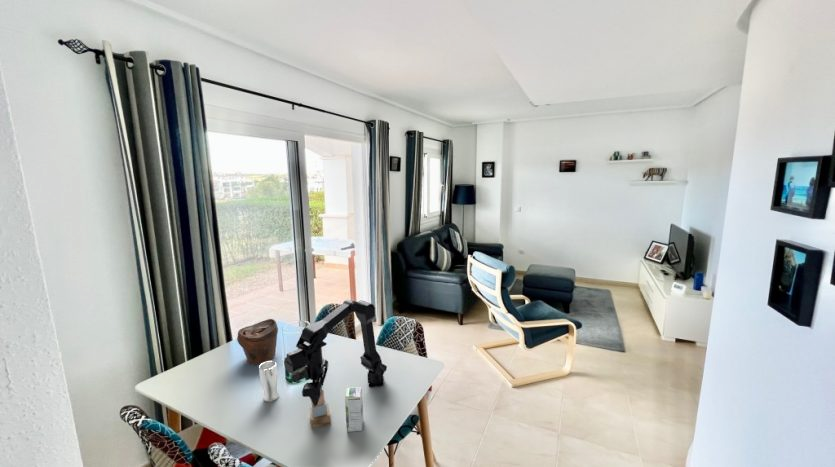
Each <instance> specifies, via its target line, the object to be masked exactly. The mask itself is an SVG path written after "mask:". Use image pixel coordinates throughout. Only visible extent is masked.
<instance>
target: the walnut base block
mask: <svg viewBox="0 0 835 467" xmlns="http://www.w3.org/2000/svg"><path fill="white" fill-rule="evenodd" d="M326 408H327V414H326V415H322V416H318V417H314V418H313V412H312V406H311V407H309V414H310V425H311V430H312V429H313V430H314V429H317V428H320V427H325V426H327V425H331V423H332V421H331V413H330V405H329V403H327V402H326Z"/></svg>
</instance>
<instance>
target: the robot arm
mask: <svg viewBox="0 0 835 467" xmlns="http://www.w3.org/2000/svg"><path fill="white" fill-rule="evenodd" d="M352 313H354V314H355V316H356V318H357V319H358V322H359V323H360V328H361V336H362V341H363V350H364V353H363V354H362V355H361V356H359V358H360V361H361V362H360V365H362V366H363V367H364V368H365V370H368V371H367V375H366V376H367V384H368V387H369V388H373V387H383V386H385V382H384V380H385V379H384V378H385V376H384V374H385V372H386V371H387V370H388V369H387V368H388V366H387V365H386V364H384V363H383V361H382V358H381V355H380V353H379V352H378V351H377V346H376V340H375V332H374V330H375V329H374V324H373V320H374V319H375V316H376V307H375V305H374V304H373V303H370V302H368V301H365V300H358V301H354V300H350V299H346V300H344V301H343V303H342V304H340V305H339V306H338V307H336V308H335V309H334V310H332V311H331V312H330V313H329V314H327V315H326V316H324V318H322V319H321V320H318V321H315V322H312V323H311V324H308V325H307V326H305V327H304V328H303V329H302V330H301V334H300V336H299V339H298V341H297V343H296V345H295V347H296V348H297V349H296V350H293V351H291V352H288V353H286V357H285V358H284V361H283V362H284V363H283V364H284V367H285V369H286V371H287V373H289V374H290V381H291V382H293V383H297V382H301V380H304V379H305V380H306V381H308V380H311V382H306V383H305V384H304V385H303V387H302V390H301V394H302V397H303V398H307V397H309V399H310V402H311V401H312V403H313V405H314V406H317V404H318V401H319V398H320V395H321V392H322V390H323V386H324V382H325V380H326V376H327V373H328V369H329V361H328V360H327V359H325V357H323V347H326V346H327V344H328V343H327V342H325V341H324V340H326V338H327V336H328V335H329V332H330V331H331V330H332V329H333V328H335V327H336V326H337V325H338V324H339V323H340V322H342V321H343V320H344V319H345V318H347V317H348V316H349V315H350V314H352ZM306 343H307V344H308V345H307V344H306Z"/></svg>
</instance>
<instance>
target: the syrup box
mask: <svg viewBox="0 0 835 467" xmlns="http://www.w3.org/2000/svg"><path fill="white" fill-rule="evenodd" d="M363 400H364V399H363V387H361V386H359V387H358V386H357V387H356V386H353V387H347V388H346V392H345V398H344V404H345V407H344V408H345V423H346V432H347V433H349V432H352V433H353V432H358V431H359V432H360V431H361V432H362V431H363V427H364V426H363V425H364V408H363V407H364V405H363Z"/></svg>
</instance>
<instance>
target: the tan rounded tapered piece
mask: <svg viewBox="0 0 835 467" xmlns="http://www.w3.org/2000/svg"><path fill="white" fill-rule="evenodd" d="M324 397H325V392H324V390H323V389H322V392H321V395H320V398H319V401H318V404H317V406H314V405H313V403H312V401H311V400H310V402H311V403H310V404H311V407H312V406H314V407H319V406H321V405H323V404H324Z"/></svg>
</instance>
